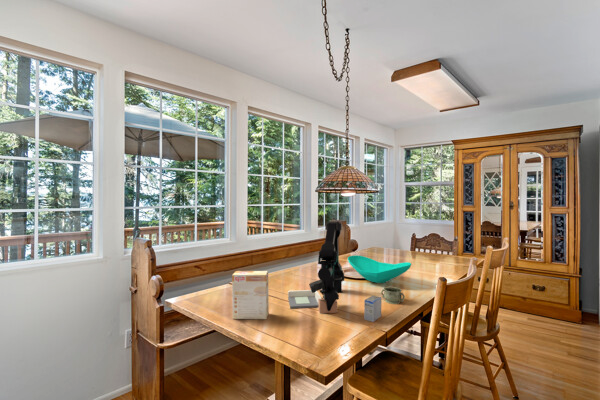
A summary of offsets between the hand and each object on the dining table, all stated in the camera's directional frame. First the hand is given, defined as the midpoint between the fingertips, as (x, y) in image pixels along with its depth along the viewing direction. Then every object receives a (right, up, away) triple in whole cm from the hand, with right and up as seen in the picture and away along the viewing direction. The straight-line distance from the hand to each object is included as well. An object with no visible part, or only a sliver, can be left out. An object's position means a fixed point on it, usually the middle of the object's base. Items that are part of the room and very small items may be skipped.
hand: (327, 308), depth 143 cm
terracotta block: (0, -1, 0) cm, 1 cm away
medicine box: (+19, -2, -8) cm, 21 cm away
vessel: (+34, -1, +13) cm, 36 cm away
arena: (-11, -1, +11) cm, 15 cm away
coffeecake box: (-35, -2, -6) cm, 35 cm away
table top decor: (+35, 0, +47) cm, 59 cm away
